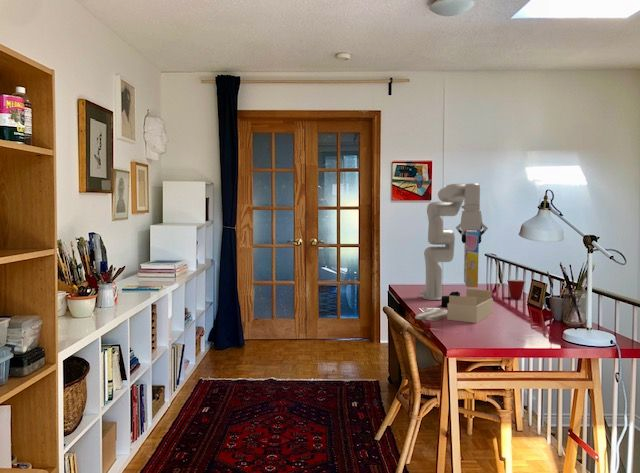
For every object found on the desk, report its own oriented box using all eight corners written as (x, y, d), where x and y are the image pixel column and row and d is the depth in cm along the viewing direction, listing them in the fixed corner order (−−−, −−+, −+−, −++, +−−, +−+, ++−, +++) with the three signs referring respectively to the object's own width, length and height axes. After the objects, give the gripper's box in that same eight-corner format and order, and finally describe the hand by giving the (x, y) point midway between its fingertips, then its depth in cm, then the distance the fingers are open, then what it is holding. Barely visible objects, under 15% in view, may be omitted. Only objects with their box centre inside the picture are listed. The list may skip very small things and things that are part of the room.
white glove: (415, 318, 257) (415, 315, 257) (432, 311, 277) (432, 308, 277) (436, 321, 251) (436, 318, 251) (452, 313, 271) (452, 310, 271)
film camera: (443, 304, 299) (443, 289, 298) (461, 305, 295) (461, 289, 295) (440, 308, 285) (440, 292, 284) (458, 310, 281) (458, 293, 281)
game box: (478, 287, 252) (479, 232, 250) (466, 287, 253) (467, 232, 251) (474, 282, 272) (475, 230, 271) (463, 281, 273) (464, 230, 272)
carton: (447, 319, 255) (447, 295, 254) (465, 310, 279) (465, 288, 278) (477, 322, 247) (477, 298, 246) (492, 313, 271) (492, 290, 270)
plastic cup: (523, 297, 322) (523, 278, 321) (526, 300, 311) (527, 280, 311) (505, 297, 324) (505, 278, 324) (508, 299, 313) (508, 280, 313)
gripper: (452, 208, 262) (452, 243, 263) (487, 208, 253) (486, 244, 254) (457, 208, 268) (456, 242, 269) (491, 208, 259) (490, 243, 260)
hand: (471, 242), depth 261 cm, fingers closed on game box, 6 cm apart
